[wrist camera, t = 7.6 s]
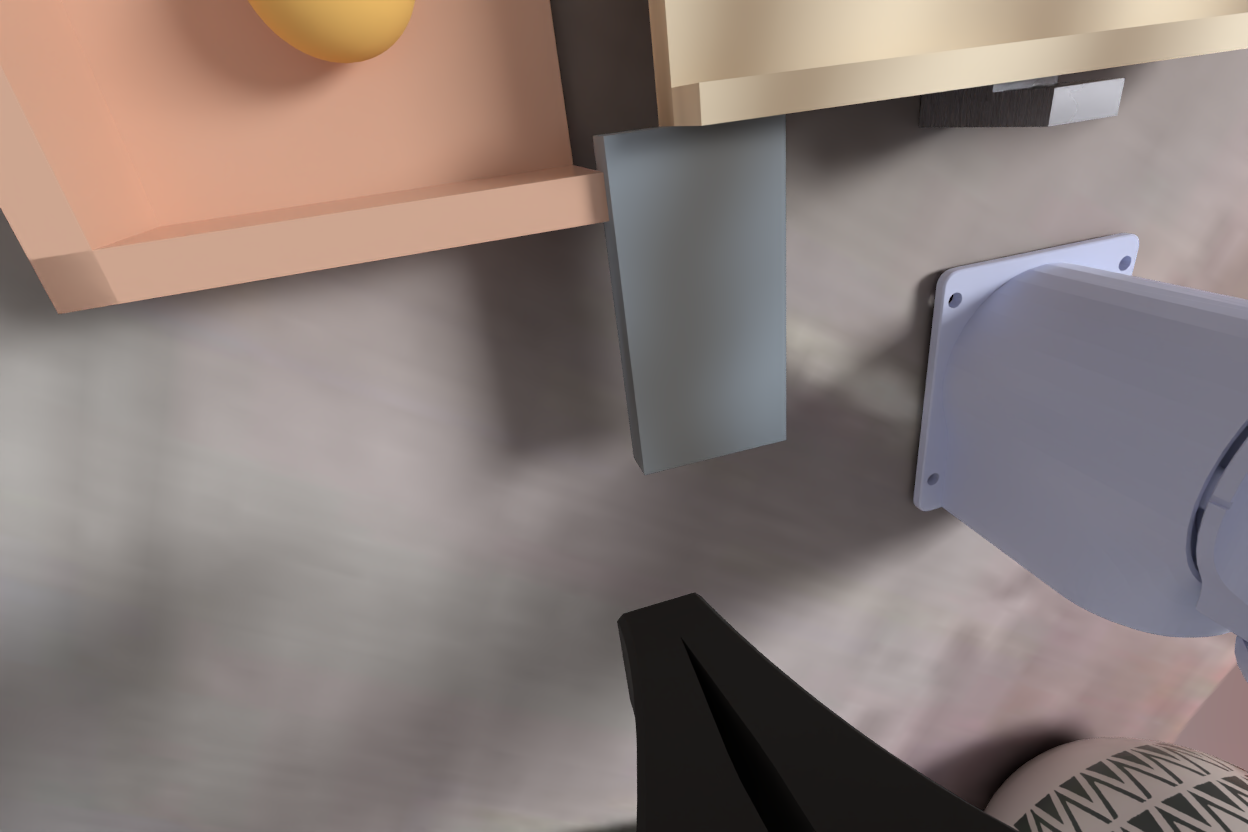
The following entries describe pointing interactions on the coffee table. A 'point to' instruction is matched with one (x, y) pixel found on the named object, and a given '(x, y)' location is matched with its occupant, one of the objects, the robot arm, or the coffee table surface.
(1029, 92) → the fulcrum
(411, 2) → the ball
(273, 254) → the tray
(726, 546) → the coffee table surface
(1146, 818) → the planter
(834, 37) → the lever
